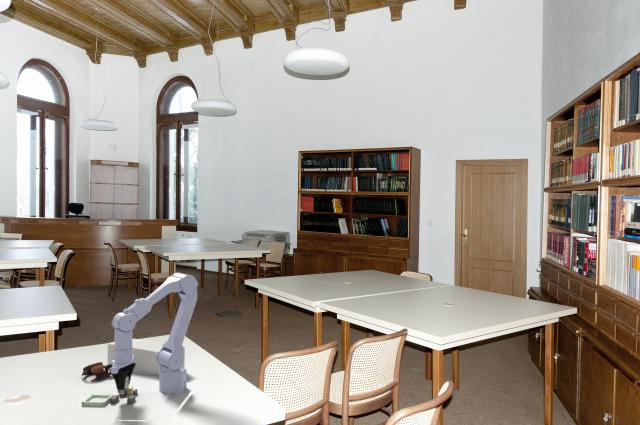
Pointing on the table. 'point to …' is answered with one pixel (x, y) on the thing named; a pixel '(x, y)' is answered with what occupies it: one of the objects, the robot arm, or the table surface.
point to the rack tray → (97, 400)
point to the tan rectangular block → (129, 391)
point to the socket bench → (116, 397)
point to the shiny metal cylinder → (125, 386)
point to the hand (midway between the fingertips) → (123, 387)
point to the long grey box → (142, 356)
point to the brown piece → (97, 371)
